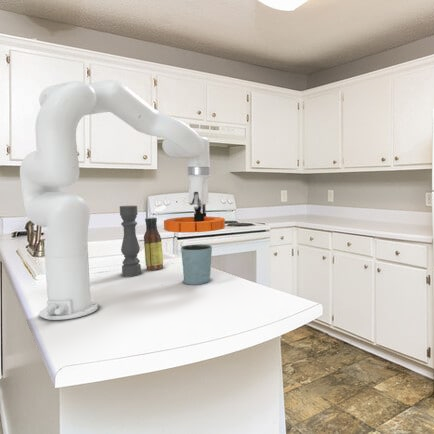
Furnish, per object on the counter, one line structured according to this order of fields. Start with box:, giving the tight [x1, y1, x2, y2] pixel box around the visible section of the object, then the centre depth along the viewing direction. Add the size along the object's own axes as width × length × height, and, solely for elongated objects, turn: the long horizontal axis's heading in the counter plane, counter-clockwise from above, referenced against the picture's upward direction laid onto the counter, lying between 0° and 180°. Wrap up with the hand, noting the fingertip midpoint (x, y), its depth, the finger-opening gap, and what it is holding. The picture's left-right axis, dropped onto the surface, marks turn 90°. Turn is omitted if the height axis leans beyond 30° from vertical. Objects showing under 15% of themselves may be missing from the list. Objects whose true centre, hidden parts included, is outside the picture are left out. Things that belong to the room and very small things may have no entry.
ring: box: [163, 215, 226, 234], centre depth 137 cm, size 19×19×3 cm
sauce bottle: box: [143, 216, 164, 271], centre depth 156 cm, size 7×6×20 cm
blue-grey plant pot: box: [180, 243, 213, 285], centre depth 139 cm, size 10×10×12 cm
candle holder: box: [119, 205, 142, 278], centre depth 147 cm, size 6×6×25 cm
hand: (200, 223), depth 145 cm, fingers closed on ring, 3 cm apart
